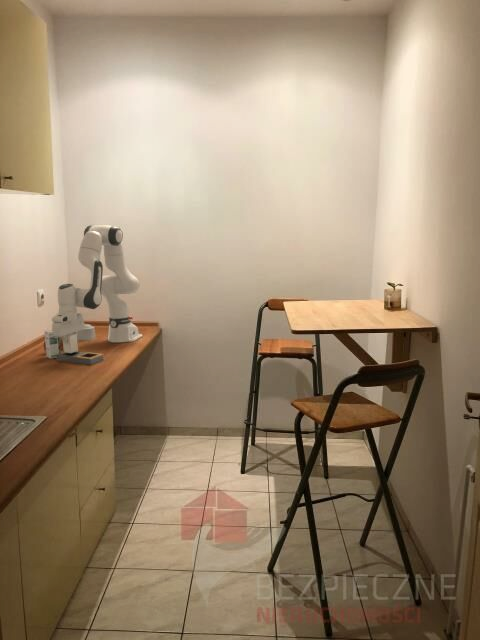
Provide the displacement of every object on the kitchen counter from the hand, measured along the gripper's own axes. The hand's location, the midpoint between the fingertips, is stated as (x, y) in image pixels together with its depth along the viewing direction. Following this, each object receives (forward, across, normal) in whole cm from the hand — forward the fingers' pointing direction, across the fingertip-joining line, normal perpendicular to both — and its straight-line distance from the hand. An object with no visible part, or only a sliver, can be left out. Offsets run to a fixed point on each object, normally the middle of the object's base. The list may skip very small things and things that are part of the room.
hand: (70, 341), depth 277 cm
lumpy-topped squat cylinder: (+10, -40, -26) cm, 49 cm away
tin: (+10, -10, -19) cm, 23 cm away
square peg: (+5, 0, 0) cm, 5 cm away
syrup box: (+10, 0, -12) cm, 15 cm away
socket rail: (+9, 0, +6) cm, 11 cm away
